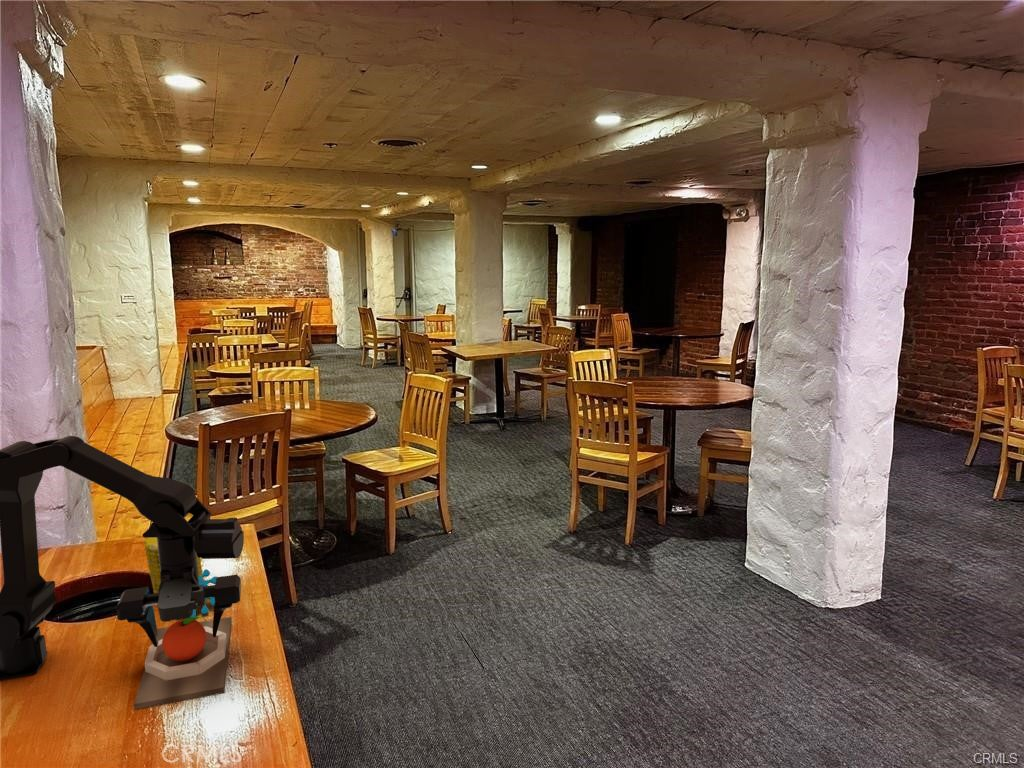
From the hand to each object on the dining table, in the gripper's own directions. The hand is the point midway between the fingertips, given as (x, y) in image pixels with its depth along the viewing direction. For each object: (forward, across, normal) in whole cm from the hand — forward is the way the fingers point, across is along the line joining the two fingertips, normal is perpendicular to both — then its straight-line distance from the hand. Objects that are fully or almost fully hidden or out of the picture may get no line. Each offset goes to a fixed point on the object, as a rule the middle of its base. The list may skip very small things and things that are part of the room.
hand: (186, 640), depth 116 cm
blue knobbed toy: (+4, 0, +18) cm, 18 cm away
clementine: (+3, 0, 0) cm, 3 cm away
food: (+4, -4, +25) cm, 26 cm away
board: (+4, 0, 0) cm, 4 cm away
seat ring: (+4, 0, 0) cm, 4 cm away
